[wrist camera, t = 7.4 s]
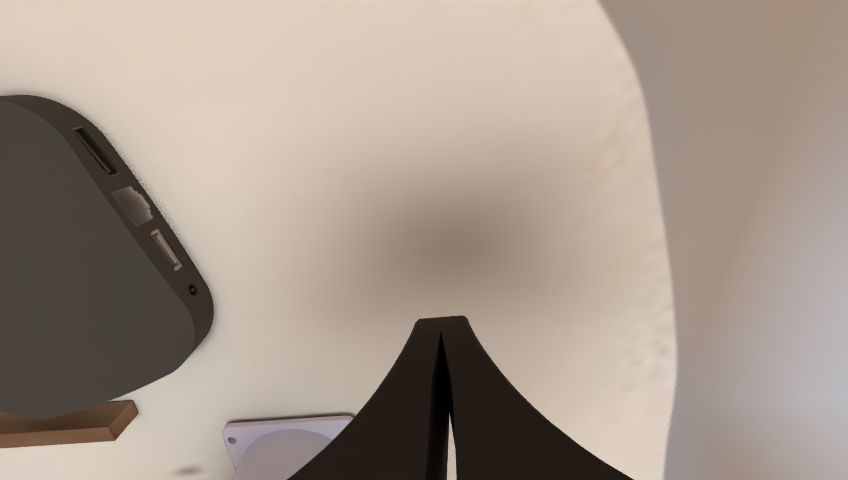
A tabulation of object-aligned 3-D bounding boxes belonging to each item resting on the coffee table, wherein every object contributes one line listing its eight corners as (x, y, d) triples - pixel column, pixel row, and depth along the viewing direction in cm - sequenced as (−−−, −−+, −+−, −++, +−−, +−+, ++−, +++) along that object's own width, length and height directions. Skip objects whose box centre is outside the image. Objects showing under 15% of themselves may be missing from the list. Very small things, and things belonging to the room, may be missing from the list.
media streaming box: (-168, 189, 20) (-263, 207, 18) (65, 64, 18) (-1, 62, 15) (40, 404, 25) (-8, 445, 23) (245, 328, 23) (219, 363, 20)
